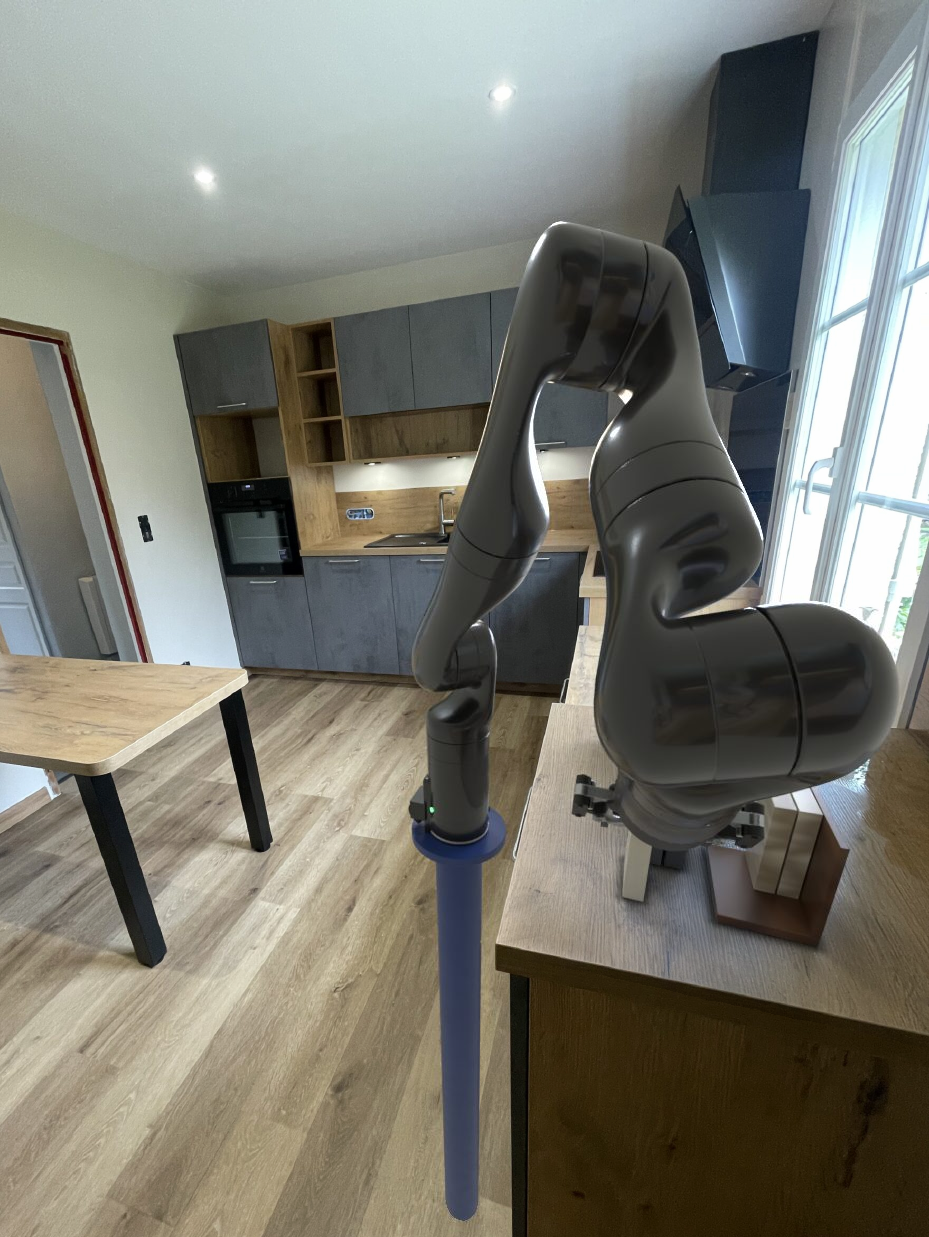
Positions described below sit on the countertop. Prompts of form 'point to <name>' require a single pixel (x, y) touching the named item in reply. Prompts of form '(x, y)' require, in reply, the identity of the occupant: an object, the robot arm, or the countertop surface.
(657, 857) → the grey books
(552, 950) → the countertop surface
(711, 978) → the countertop surface
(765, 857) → the book stand
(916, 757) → the countertop surface
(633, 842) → the ivory book
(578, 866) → the countertop surface
